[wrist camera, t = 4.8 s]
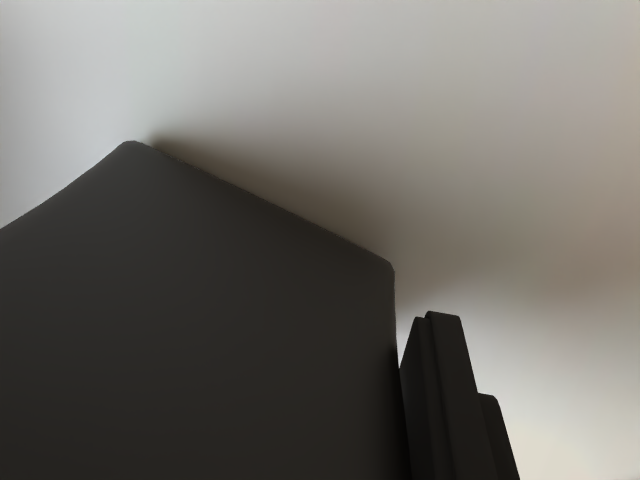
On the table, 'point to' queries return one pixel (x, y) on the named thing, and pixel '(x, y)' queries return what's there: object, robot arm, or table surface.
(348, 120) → the table surface
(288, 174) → the table surface
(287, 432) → the black rounded block
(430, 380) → the robot arm
